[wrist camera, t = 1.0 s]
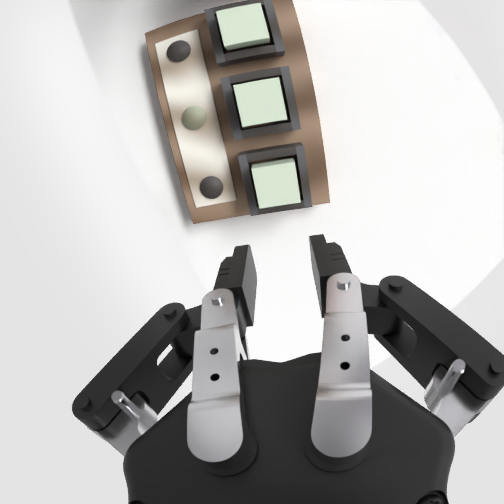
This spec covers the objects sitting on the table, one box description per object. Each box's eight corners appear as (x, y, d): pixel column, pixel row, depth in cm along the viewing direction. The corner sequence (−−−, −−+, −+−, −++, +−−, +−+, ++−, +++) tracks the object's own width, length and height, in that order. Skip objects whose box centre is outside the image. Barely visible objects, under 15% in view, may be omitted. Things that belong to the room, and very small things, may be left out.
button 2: (252, 164, 26) (251, 168, 24) (292, 158, 25) (294, 162, 23) (260, 201, 28) (259, 208, 26) (298, 195, 27) (300, 202, 25)
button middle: (236, 87, 22) (233, 85, 20) (278, 79, 21) (278, 77, 20) (244, 125, 24) (242, 127, 22) (286, 118, 23) (287, 119, 21)
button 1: (219, 17, 18) (215, 11, 16) (261, 9, 17) (260, 2, 16) (227, 50, 20) (224, 46, 18) (269, 42, 19) (269, 37, 18)
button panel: (153, 37, 22) (135, 29, 18) (289, 5, 20) (293, -12, 15) (198, 215, 34) (187, 233, 30) (325, 195, 31) (334, 211, 27)
